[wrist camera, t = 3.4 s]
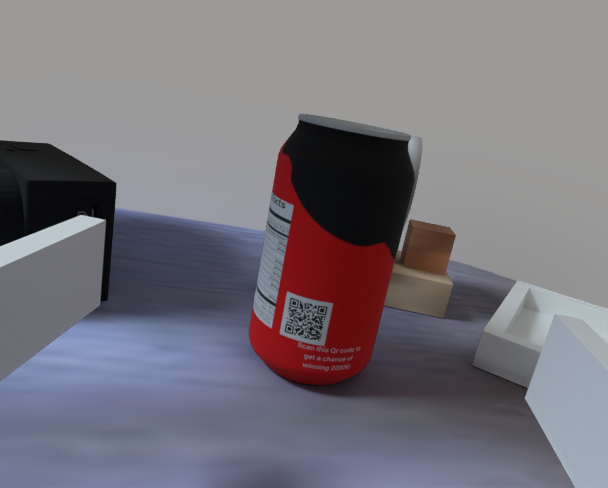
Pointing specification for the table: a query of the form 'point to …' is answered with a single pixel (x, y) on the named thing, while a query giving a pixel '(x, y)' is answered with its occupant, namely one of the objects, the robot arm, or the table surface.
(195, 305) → the table surface
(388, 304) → the pulley stand
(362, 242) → the beverage can
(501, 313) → the tray
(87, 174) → the digital camera
